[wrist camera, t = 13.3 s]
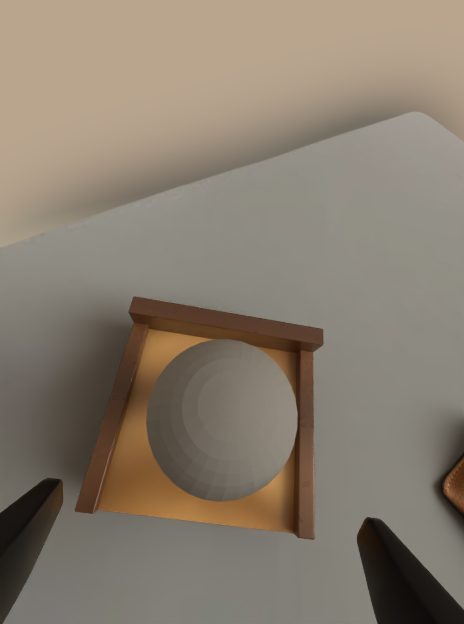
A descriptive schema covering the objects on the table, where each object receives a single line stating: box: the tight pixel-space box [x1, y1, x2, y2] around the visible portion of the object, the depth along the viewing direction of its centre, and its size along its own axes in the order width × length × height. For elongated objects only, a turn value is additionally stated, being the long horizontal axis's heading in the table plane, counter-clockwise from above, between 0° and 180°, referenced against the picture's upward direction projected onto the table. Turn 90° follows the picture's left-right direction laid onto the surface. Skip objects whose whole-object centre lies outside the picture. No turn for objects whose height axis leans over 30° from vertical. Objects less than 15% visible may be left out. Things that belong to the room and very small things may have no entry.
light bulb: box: [146, 339, 298, 502], centre depth 13 cm, size 6×6×10 cm
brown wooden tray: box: [75, 297, 323, 540], centre depth 18 cm, size 12×13×6 cm
